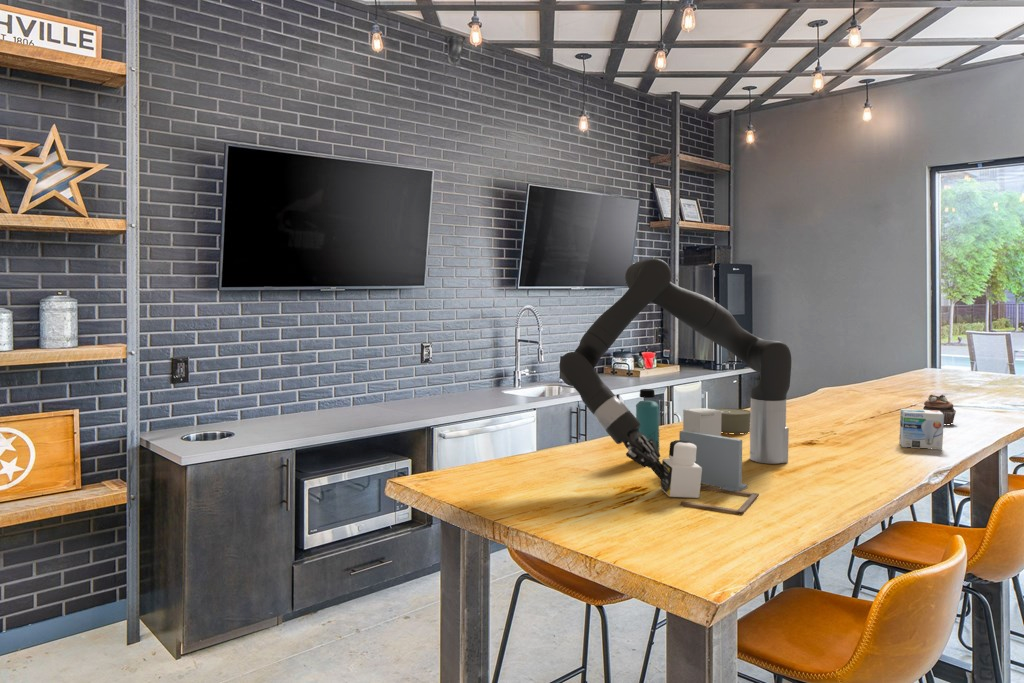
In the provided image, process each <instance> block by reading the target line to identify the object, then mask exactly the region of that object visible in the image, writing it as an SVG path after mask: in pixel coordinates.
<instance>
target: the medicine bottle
mask: <svg viewBox="0 0 1024 683" xmlns="http://www.w3.org/2000/svg"><path fill="white" fill-rule="evenodd" d="M696 453H697V446H696V444H694V443H692V442H689V441H683V440H679V439H676V440H673V441H671V442H670V443H669V452H668V458H663V459H662V460H661V464H662V466H663V469H664V475H663V479H662V480H661V479H660V485H659V488H660V489H661V490H662V491H663V492H664V493H665V494H666V495H667V496H668V497H670V498H688V499H689V498H690V499H699V498H700V495H701V493H700V492H701V490H700V486H702V485H701V474H702V468H701V467H700V466H699V465H697V464H696V463H695V461H696Z"/></svg>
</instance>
